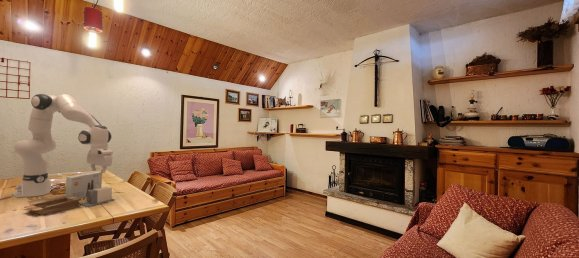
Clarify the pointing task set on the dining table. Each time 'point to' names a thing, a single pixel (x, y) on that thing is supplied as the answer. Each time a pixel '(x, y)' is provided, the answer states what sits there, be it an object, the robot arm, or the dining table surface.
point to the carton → (53, 204)
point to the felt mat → (96, 203)
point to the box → (99, 195)
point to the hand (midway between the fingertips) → (98, 171)
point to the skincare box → (82, 184)
